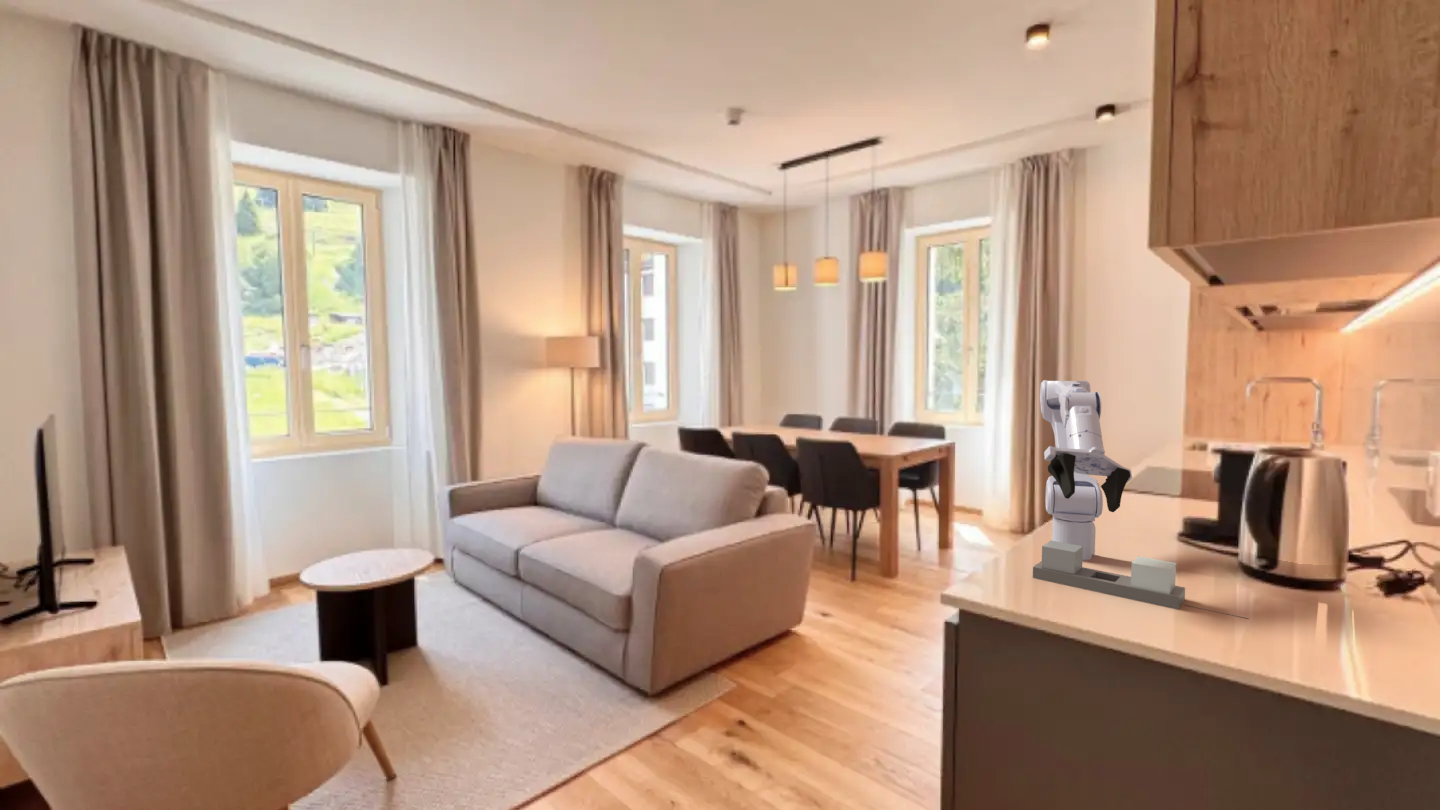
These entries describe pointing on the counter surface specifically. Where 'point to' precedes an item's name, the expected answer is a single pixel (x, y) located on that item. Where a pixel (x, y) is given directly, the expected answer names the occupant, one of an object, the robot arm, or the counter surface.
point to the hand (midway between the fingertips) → (1092, 502)
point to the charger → (1153, 574)
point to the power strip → (1097, 577)
